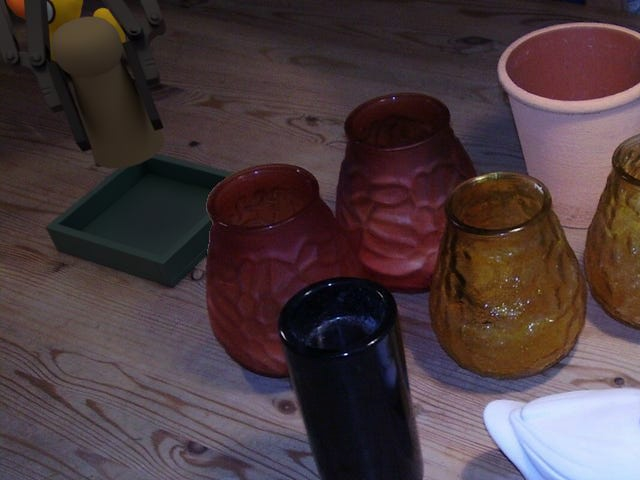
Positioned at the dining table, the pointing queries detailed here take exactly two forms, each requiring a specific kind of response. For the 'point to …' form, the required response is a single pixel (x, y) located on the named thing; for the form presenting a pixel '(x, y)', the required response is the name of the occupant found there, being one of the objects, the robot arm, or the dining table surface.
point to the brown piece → (106, 93)
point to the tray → (143, 219)
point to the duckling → (64, 15)
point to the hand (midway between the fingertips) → (120, 135)
